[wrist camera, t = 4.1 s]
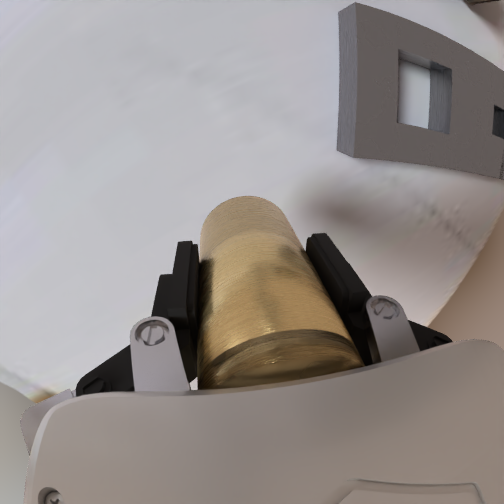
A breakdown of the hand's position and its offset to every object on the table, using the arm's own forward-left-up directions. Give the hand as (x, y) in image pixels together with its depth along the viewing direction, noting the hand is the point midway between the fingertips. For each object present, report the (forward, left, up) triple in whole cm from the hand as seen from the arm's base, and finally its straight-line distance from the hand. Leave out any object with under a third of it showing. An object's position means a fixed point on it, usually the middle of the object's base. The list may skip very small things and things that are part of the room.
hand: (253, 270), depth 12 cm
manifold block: (-9, +20, -11) cm, 25 cm away
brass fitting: (0, 0, -3) cm, 3 cm away
